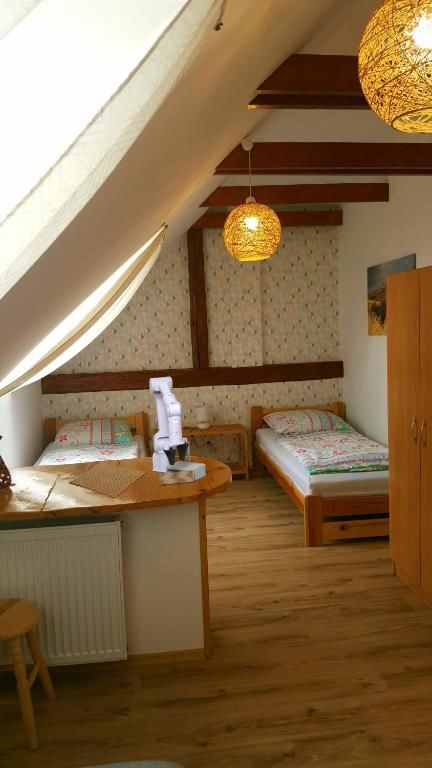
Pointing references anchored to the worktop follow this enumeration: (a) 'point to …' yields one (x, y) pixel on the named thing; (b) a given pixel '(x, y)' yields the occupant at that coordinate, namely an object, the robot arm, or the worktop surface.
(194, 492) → the worktop surface
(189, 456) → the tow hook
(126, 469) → the worktop surface
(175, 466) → the cabinet
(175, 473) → the door
